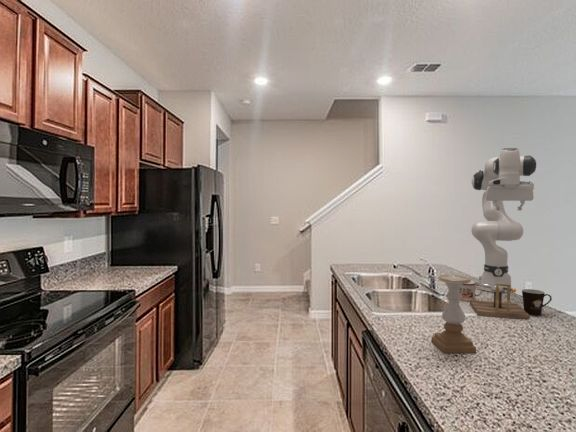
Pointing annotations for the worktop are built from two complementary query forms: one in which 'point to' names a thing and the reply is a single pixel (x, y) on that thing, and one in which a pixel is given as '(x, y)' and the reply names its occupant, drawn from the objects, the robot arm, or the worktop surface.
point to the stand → (499, 306)
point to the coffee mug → (533, 301)
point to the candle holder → (453, 319)
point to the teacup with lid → (469, 291)
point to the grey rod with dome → (493, 287)
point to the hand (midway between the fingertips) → (508, 210)
